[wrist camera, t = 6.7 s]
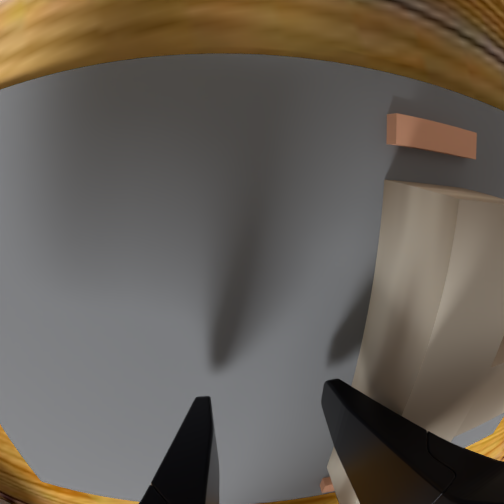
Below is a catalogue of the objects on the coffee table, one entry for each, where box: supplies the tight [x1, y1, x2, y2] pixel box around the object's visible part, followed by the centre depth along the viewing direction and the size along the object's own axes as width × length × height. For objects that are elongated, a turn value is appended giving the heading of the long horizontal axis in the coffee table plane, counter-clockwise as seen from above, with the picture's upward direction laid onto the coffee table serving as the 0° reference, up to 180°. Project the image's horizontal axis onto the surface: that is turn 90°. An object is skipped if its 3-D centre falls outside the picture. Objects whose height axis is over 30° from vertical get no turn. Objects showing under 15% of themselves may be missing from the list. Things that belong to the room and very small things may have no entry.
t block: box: [327, 180, 504, 504], centre depth 9 cm, size 12×11×3 cm
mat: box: [0, 54, 504, 504], centre depth 9 cm, size 18×28×1 cm, turn 89°
